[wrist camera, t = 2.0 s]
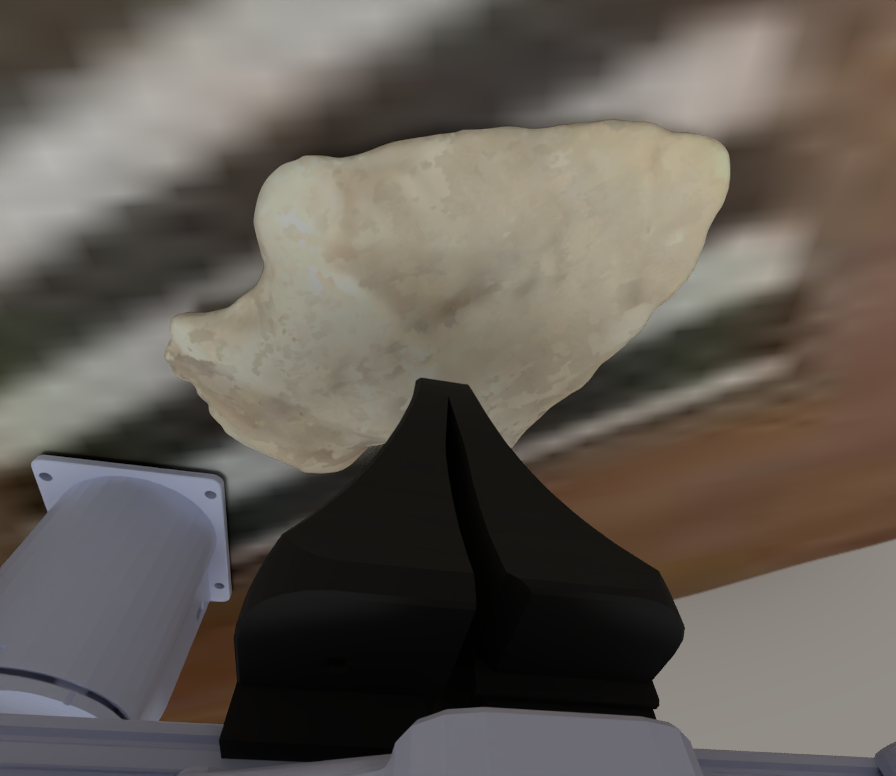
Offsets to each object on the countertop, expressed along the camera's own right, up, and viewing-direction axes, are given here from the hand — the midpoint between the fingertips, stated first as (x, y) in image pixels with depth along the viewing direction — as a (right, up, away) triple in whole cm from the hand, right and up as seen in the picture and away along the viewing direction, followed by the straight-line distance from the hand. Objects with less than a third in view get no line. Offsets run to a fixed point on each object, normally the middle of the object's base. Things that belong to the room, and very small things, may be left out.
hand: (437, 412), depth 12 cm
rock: (0, +4, +6) cm, 8 cm away
